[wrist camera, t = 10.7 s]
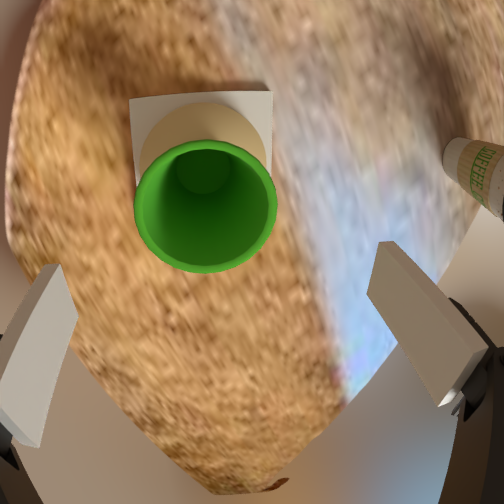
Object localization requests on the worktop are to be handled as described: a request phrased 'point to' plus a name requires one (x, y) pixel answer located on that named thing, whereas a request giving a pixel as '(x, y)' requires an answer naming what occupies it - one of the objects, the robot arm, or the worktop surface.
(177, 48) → the worktop surface
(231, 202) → the cup
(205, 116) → the domed square tile
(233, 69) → the worktop surface
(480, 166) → the coffee cup
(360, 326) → the worktop surface
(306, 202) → the worktop surface
